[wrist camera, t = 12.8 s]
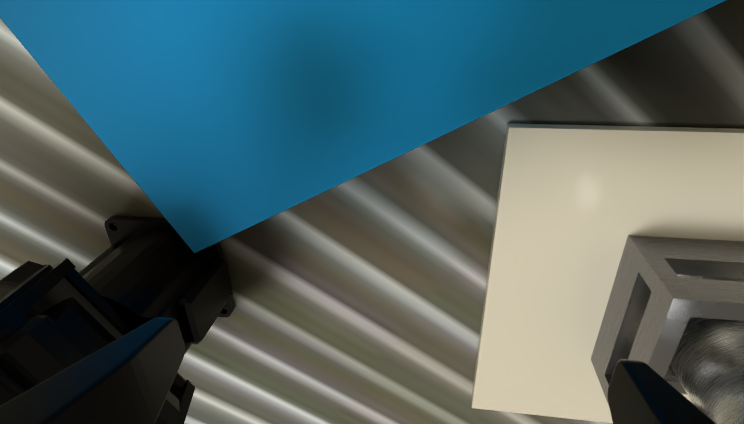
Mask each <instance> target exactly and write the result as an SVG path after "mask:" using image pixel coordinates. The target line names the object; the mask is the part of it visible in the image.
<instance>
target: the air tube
mask: <svg viewBox="0 0 744 424" xmlns="http://www.w3.org/2000/svg"><path fill="white" fill-rule="evenodd" d="M679 278H693V279H708V280H723V281H733V280H731V279H730V278H725V277H709V276H694V275H682V276H679ZM650 296H651V295H650ZM649 299H650V298H649ZM648 302H649V301H648ZM647 305H648V303H647ZM646 307H647V306H646ZM645 310H646V309H645ZM644 313H645V312H644ZM643 316H644V315H643ZM669 369H670V370H671V372H672V373H673V374H674V375H675V376H676V377H677V378H678V380H679V381H680V383H681V385H682V386H683V388H684V390H685V391H686V393H687V395H688V397H689V398H690V400H691V402H692V403H693V404H694V405H695V406H696V407H698V408H699V409H700V410H701V411H702V412H703V413H704V414H706V415H707V416H708V417H709V418H710V419H711V420H713V421H714V422H715V423H716V424H744V321H738V320H725V319H712V318H699V317H690V318H689V321H688V323H687V325H686V328H685V330H684V332H683V335H682V337H681V339H680V342H679V344H678V347H677V349H676V351H675V354H674V356H673V358H672V361H671V363H670V365H669Z"/></svg>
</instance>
